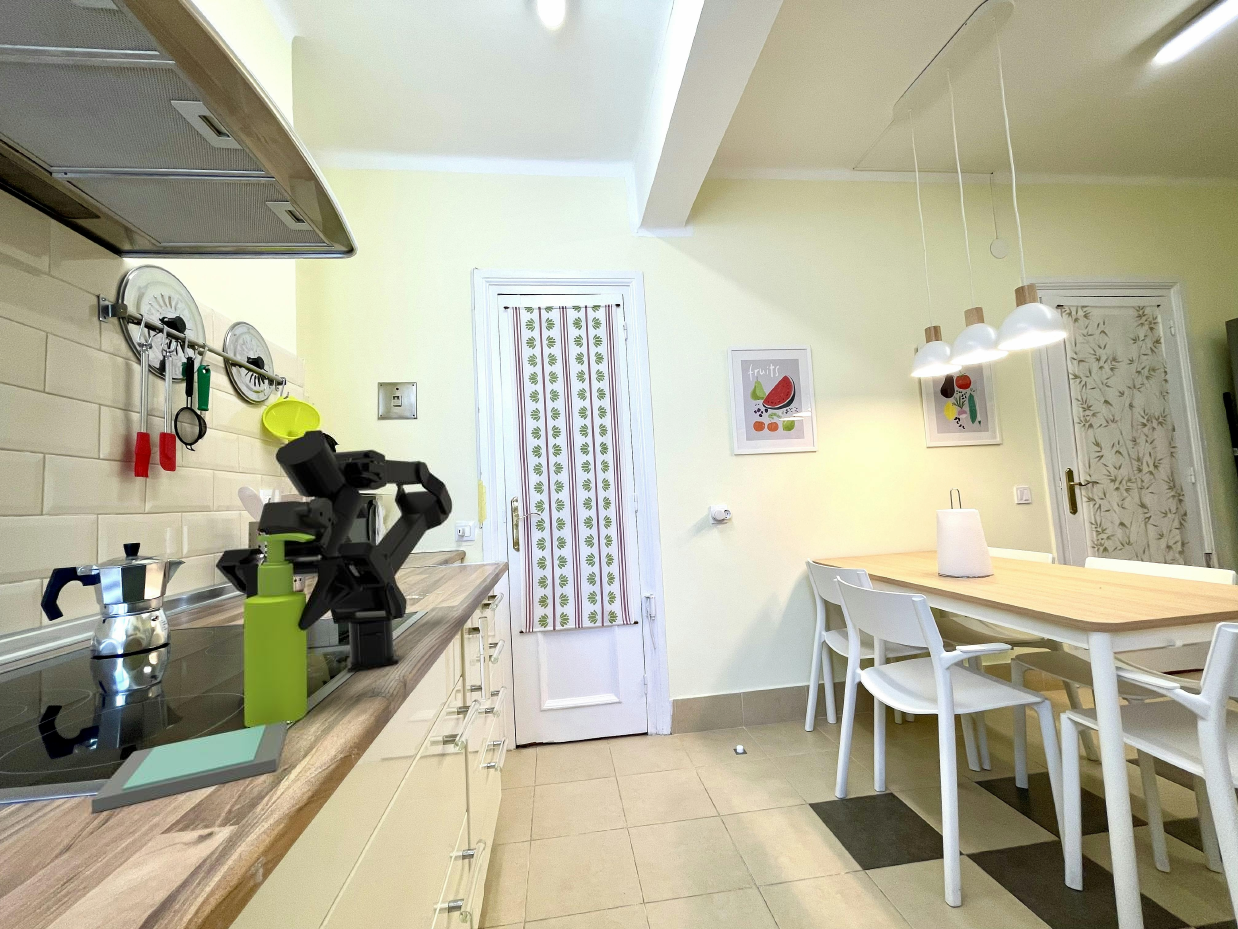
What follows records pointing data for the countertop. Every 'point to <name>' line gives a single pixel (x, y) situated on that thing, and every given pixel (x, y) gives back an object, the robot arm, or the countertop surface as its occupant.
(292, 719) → the soap dispenser
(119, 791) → the board
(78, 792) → the countertop surface
